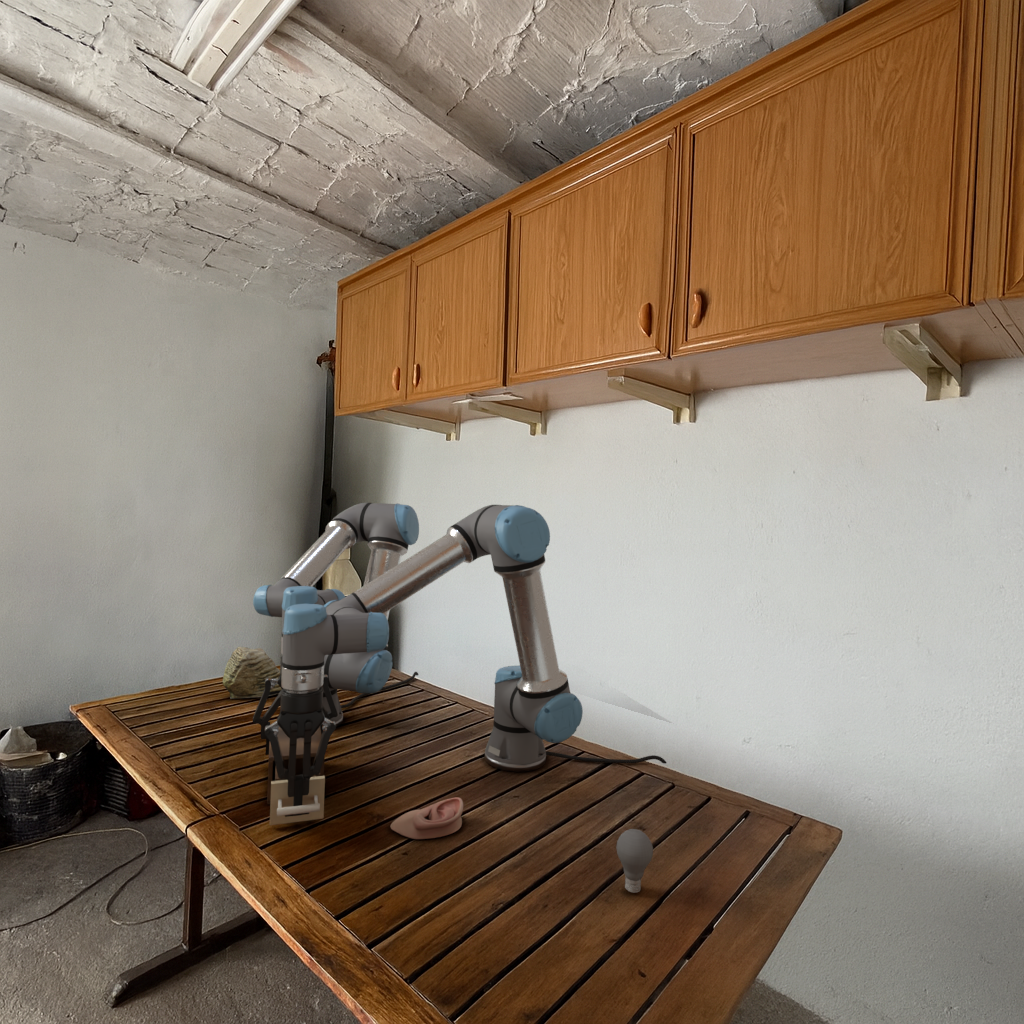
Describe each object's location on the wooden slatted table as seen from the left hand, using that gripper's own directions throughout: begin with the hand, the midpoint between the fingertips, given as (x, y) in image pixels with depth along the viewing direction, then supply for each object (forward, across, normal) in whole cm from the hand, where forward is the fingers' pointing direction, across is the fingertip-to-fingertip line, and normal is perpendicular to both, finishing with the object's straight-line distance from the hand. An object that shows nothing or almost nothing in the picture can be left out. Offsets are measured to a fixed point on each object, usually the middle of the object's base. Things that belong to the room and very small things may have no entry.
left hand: (294, 750), depth 145 cm
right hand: (+1, 0, -28) cm, 28 cm away
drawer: (+4, 0, -19) cm, 20 cm away
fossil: (+5, -10, +60) cm, 61 cm away
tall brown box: (+5, 0, -6) cm, 8 cm away
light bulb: (+5, +52, -62) cm, 81 cm away
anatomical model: (+5, +24, -32) cm, 40 cm away
